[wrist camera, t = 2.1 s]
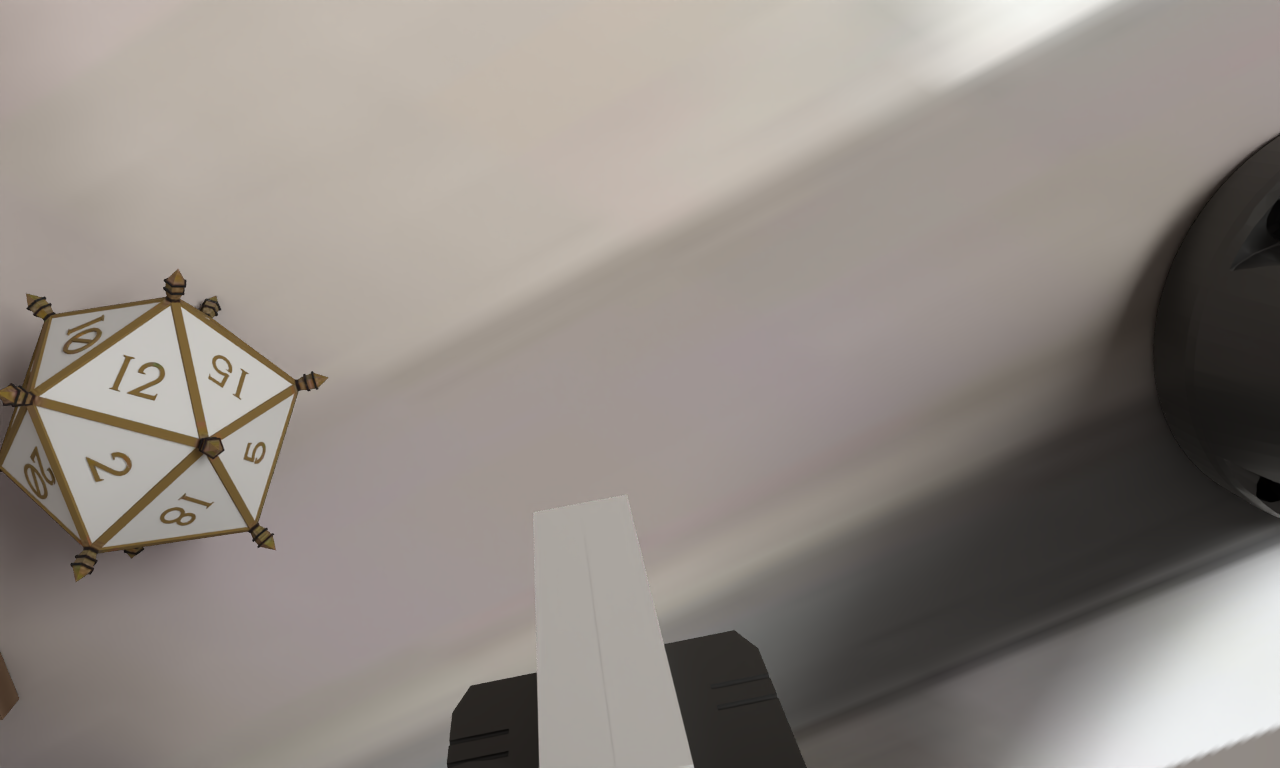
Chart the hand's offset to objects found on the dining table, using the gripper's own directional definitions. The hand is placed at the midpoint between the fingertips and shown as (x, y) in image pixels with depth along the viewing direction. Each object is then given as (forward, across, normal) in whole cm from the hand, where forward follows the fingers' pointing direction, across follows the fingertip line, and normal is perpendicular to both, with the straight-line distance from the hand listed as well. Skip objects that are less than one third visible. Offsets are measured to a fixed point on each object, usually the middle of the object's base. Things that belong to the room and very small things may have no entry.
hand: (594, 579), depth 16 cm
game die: (+18, +12, 0) cm, 22 cm away
